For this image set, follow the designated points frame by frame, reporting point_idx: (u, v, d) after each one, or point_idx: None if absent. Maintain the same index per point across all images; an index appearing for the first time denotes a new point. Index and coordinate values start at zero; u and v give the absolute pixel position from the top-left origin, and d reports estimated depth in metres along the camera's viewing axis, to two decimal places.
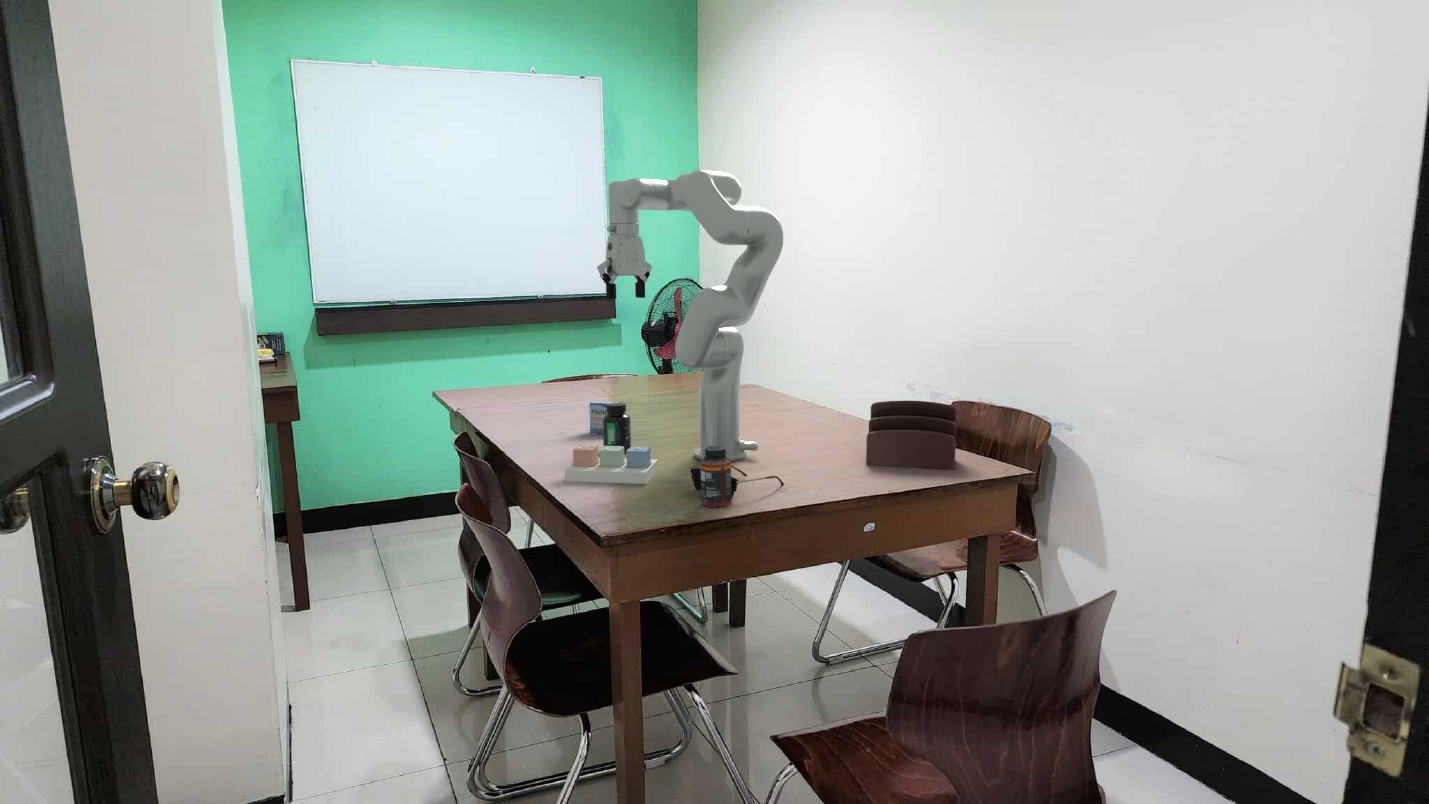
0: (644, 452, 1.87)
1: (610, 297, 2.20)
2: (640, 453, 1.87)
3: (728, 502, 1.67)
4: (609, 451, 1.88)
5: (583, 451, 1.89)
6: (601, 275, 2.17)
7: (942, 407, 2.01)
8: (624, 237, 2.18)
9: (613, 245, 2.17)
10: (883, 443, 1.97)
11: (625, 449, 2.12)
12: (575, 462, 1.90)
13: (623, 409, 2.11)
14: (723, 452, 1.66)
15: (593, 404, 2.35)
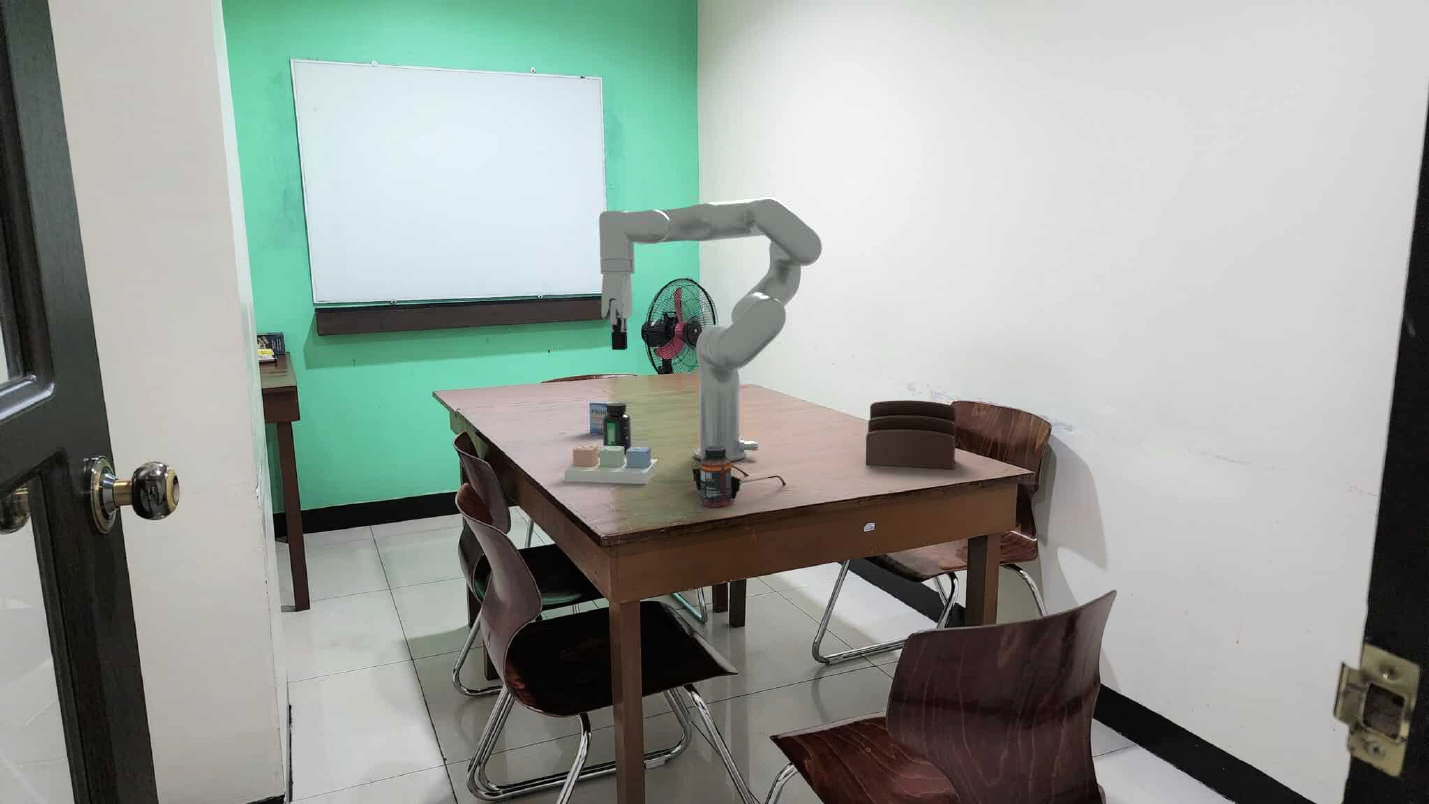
0: (644, 452, 1.87)
1: None
2: (640, 453, 1.87)
3: (728, 502, 1.67)
4: (609, 451, 1.88)
5: (583, 451, 1.89)
6: None
7: (941, 406, 2.01)
8: None
9: None
10: (883, 443, 1.97)
11: (625, 449, 2.12)
12: (575, 462, 1.90)
13: (623, 409, 2.11)
14: (723, 452, 1.66)
15: (593, 404, 2.35)
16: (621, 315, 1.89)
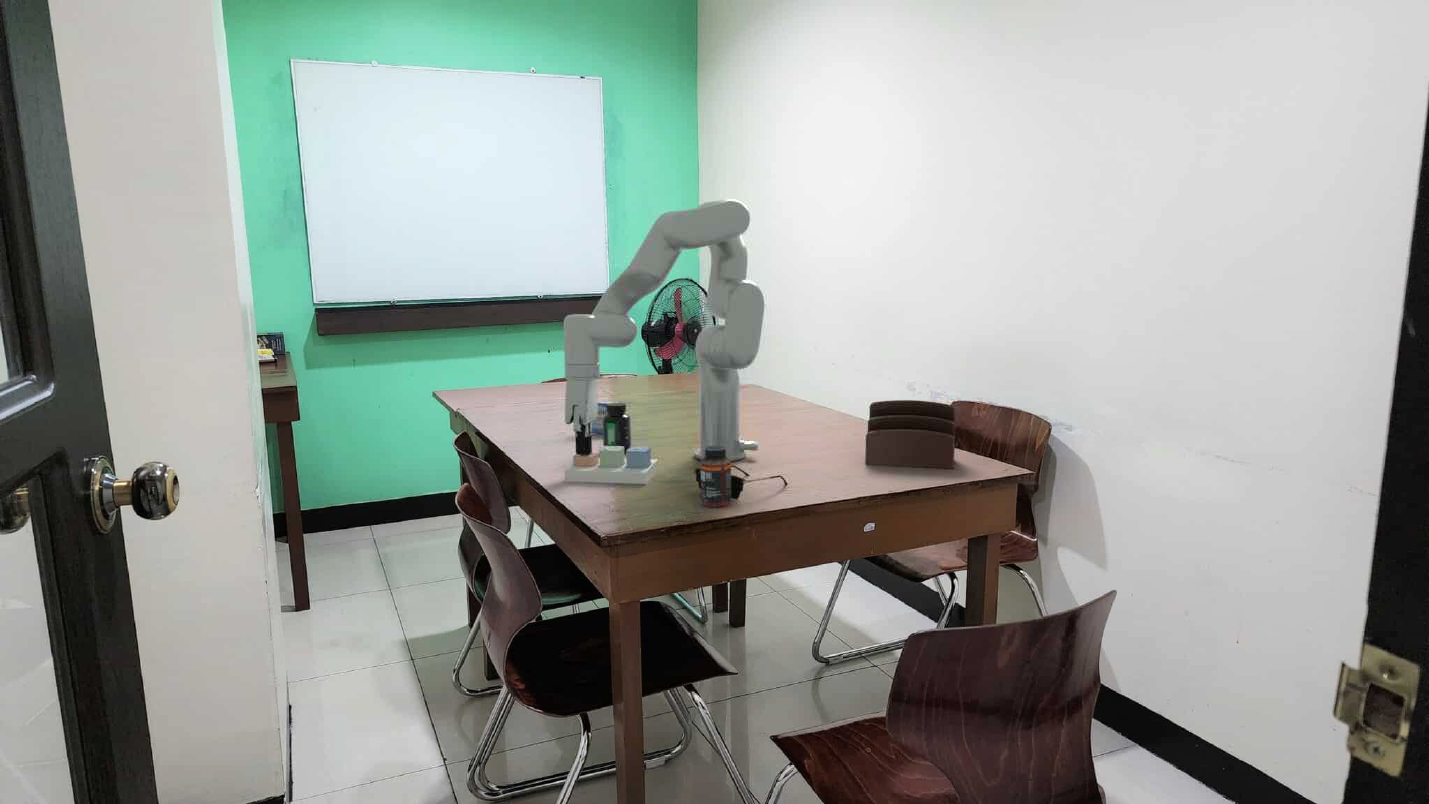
0: (644, 452, 1.87)
1: None
2: (640, 453, 1.87)
3: (728, 502, 1.67)
4: (609, 451, 1.88)
5: (583, 458, 1.89)
6: None
7: (940, 406, 2.01)
8: None
9: None
10: (882, 443, 1.98)
11: (625, 449, 2.12)
12: None
13: (623, 409, 2.11)
14: (723, 452, 1.66)
15: None
16: (585, 422, 1.85)
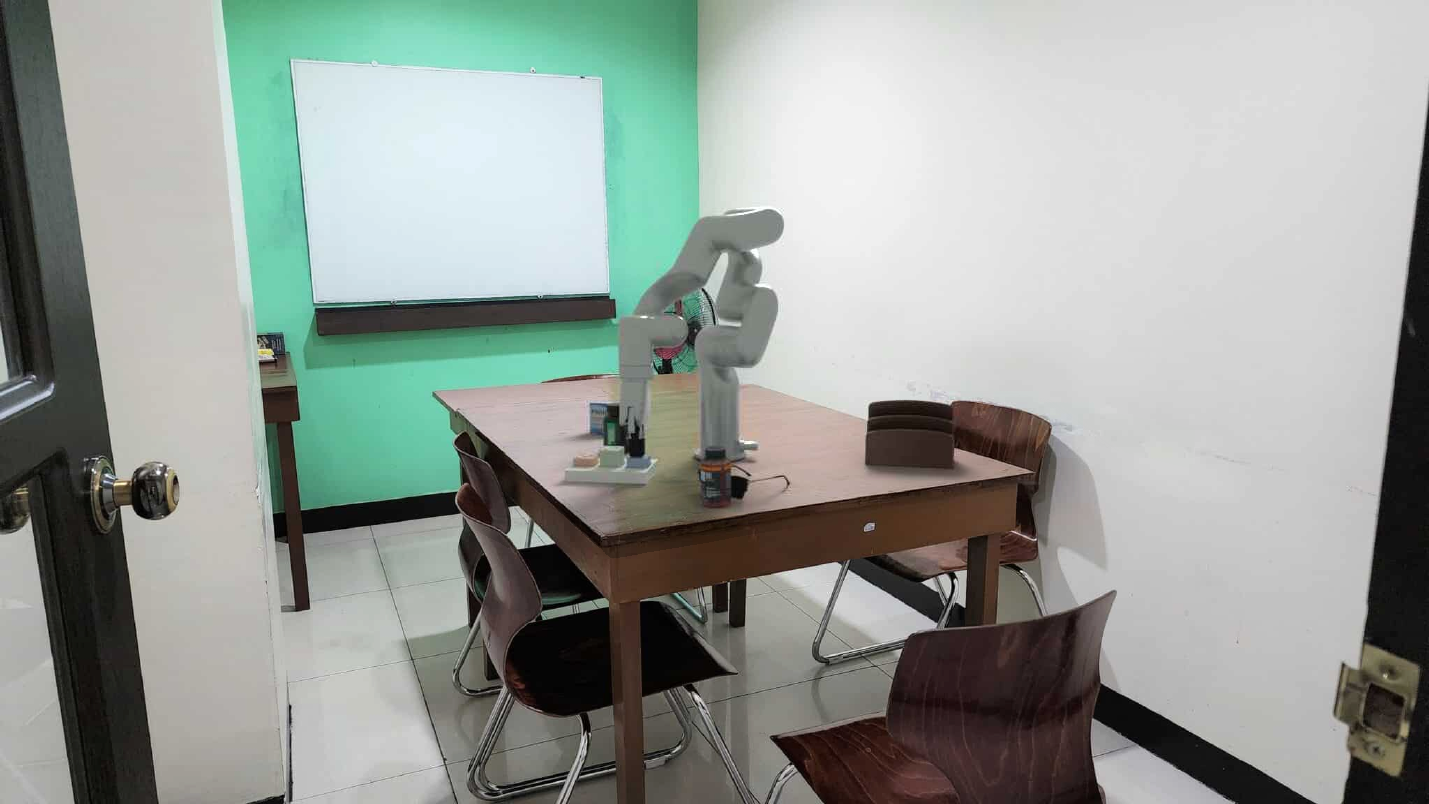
0: (644, 460, 1.87)
1: None
2: (640, 461, 1.87)
3: (728, 502, 1.67)
4: (609, 451, 1.88)
5: (583, 460, 1.89)
6: None
7: (939, 406, 2.02)
8: None
9: None
10: (882, 442, 1.98)
11: (625, 449, 2.12)
12: None
13: None
14: (723, 452, 1.66)
15: (593, 404, 2.34)
16: (639, 423, 1.83)
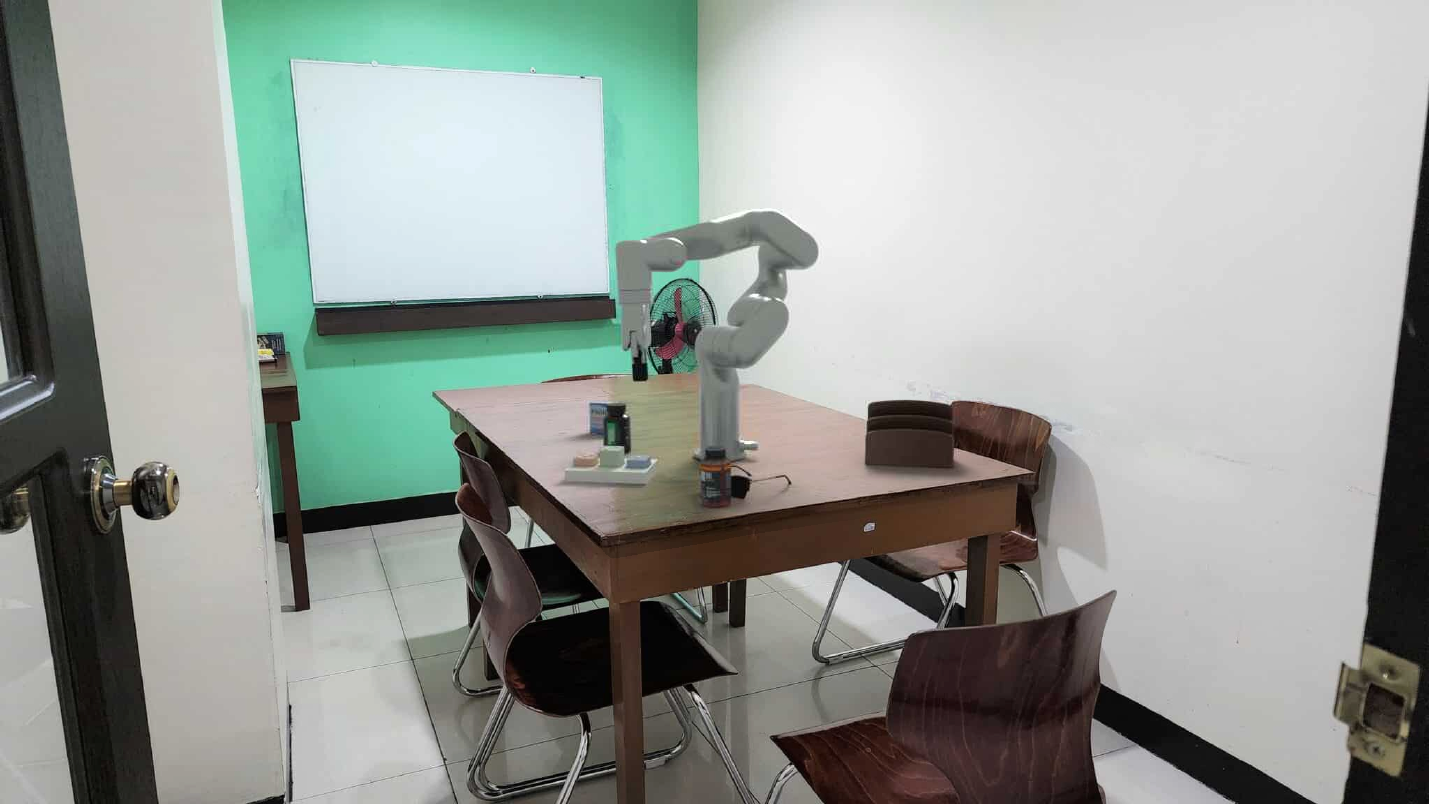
0: (644, 461, 1.87)
1: None
2: (640, 462, 1.87)
3: (728, 502, 1.67)
4: (609, 451, 1.88)
5: (583, 460, 1.89)
6: None
7: (938, 406, 2.02)
8: None
9: None
10: (882, 442, 1.98)
11: (625, 449, 2.12)
12: None
13: (623, 409, 2.11)
14: (723, 452, 1.66)
15: (593, 404, 2.34)
16: (642, 347, 1.85)
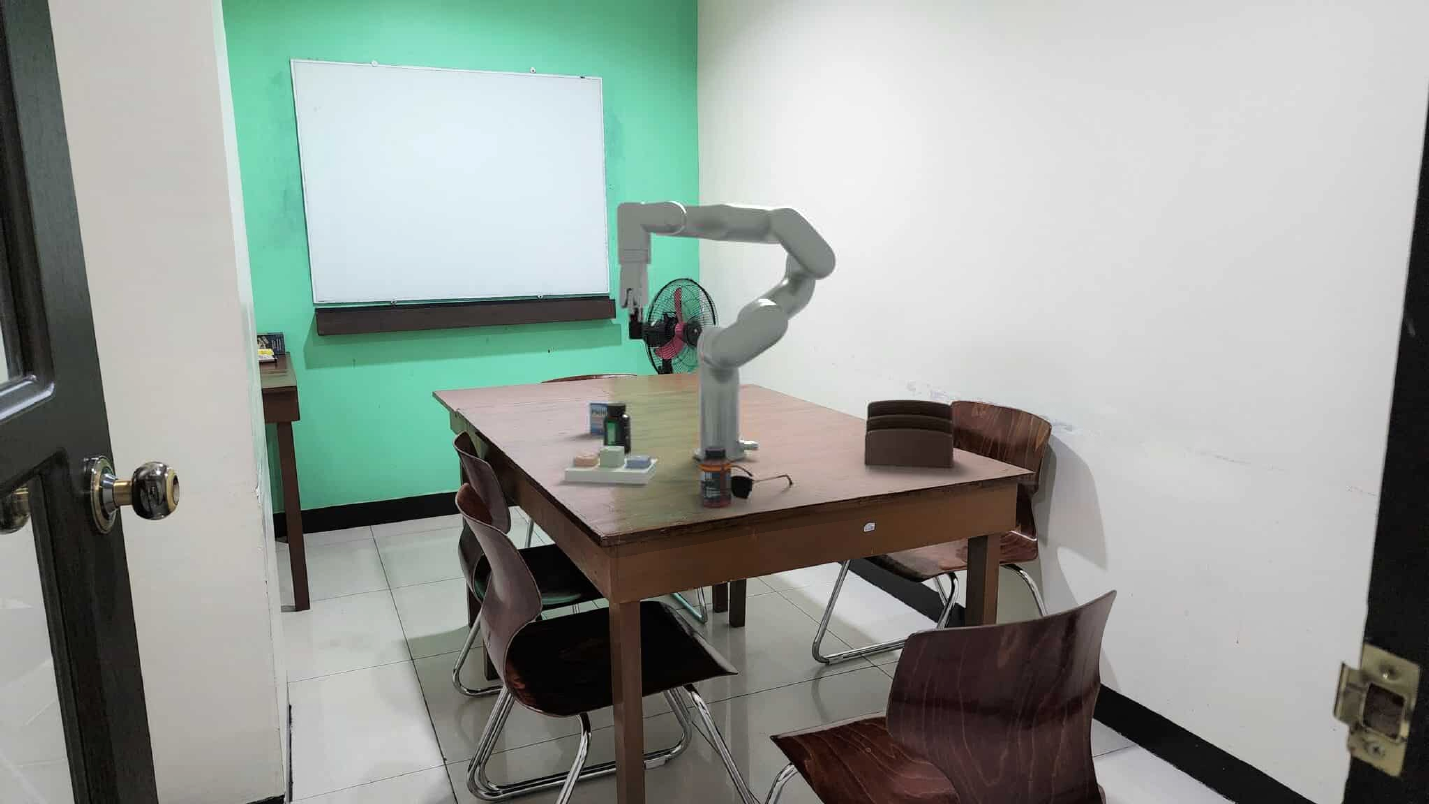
0: (644, 461, 1.87)
1: None
2: (640, 462, 1.87)
3: (728, 502, 1.67)
4: (609, 451, 1.88)
5: (583, 460, 1.89)
6: None
7: (938, 406, 2.02)
8: None
9: None
10: (881, 442, 1.98)
11: (625, 449, 2.12)
12: None
13: (623, 409, 2.11)
14: (723, 452, 1.66)
15: (593, 404, 2.34)
16: (638, 305, 1.92)
